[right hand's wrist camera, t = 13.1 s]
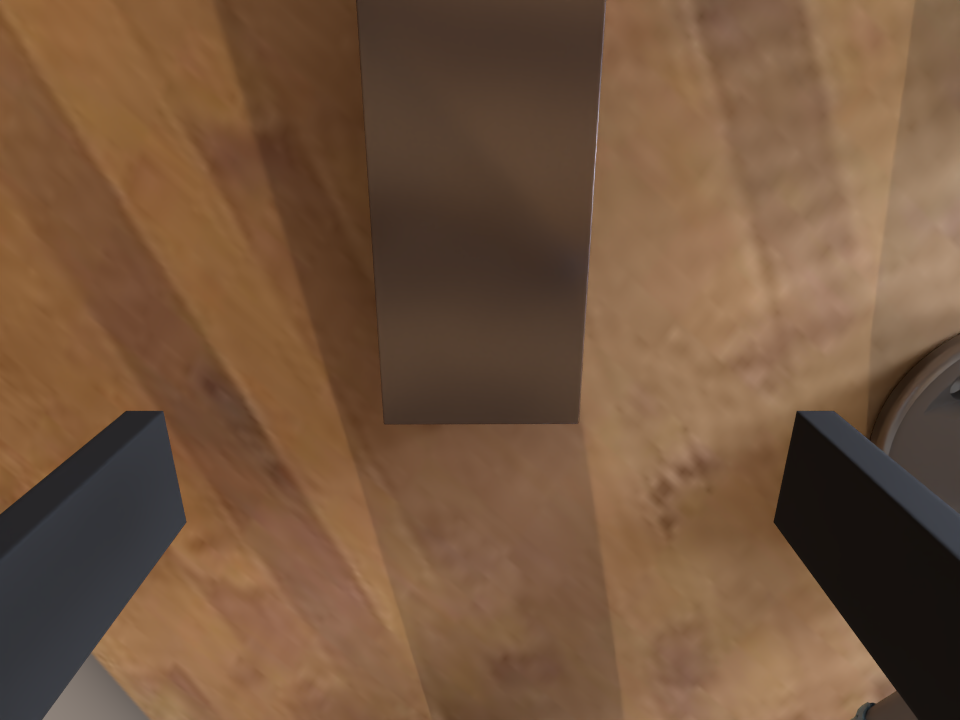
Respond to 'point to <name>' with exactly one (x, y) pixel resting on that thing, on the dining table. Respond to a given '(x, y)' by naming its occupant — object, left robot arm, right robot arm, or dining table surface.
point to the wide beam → (481, 203)
